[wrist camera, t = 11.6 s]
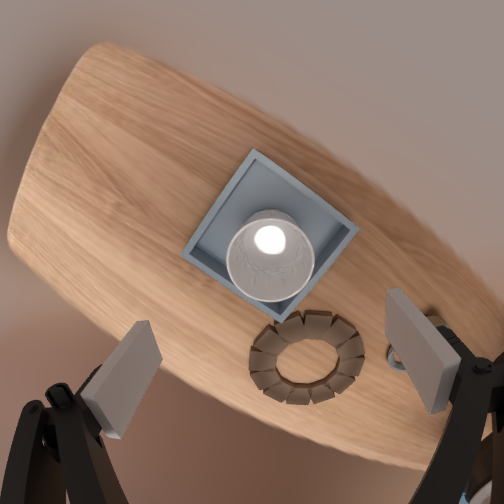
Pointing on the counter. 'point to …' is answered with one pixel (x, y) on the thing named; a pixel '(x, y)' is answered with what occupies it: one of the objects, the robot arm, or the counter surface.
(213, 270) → the bin
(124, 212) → the counter surface
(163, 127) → the counter surface
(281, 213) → the white cup
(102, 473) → the robot arm
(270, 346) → the holder ring
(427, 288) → the counter surface
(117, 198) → the counter surface
